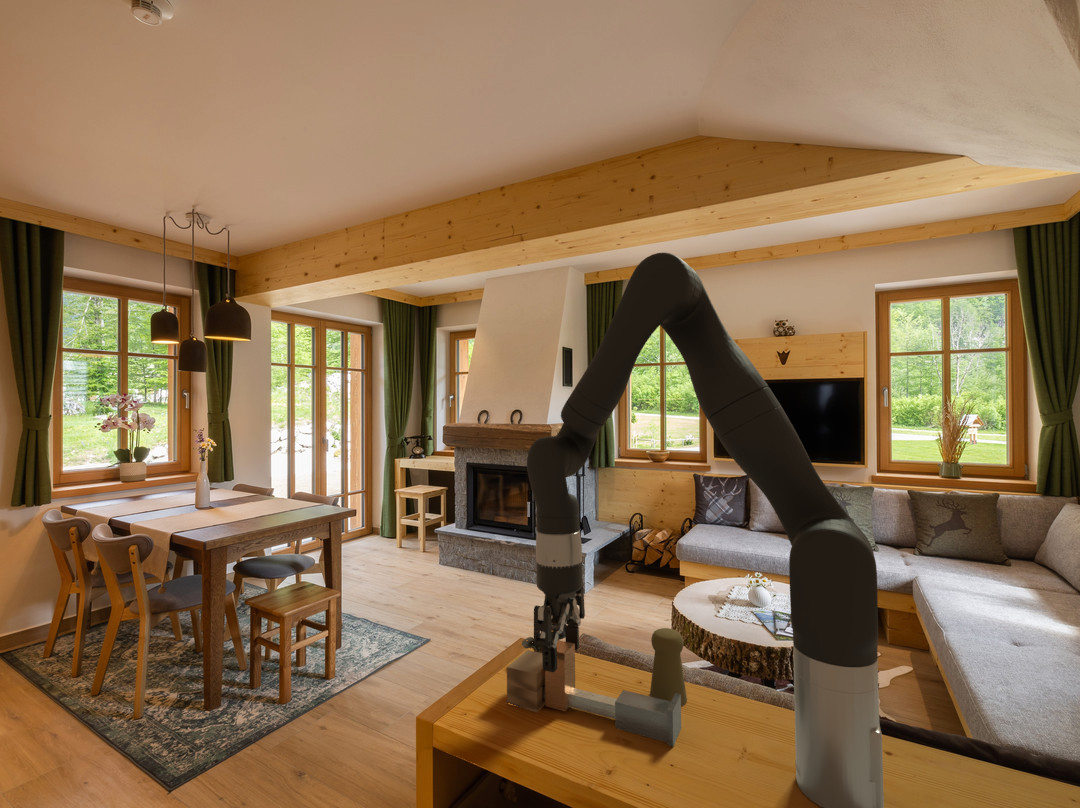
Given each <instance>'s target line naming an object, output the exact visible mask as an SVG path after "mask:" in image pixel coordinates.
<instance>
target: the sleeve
mask: <svg viewBox="0 0 1080 808" xmlns="http://www.w3.org/2000/svg"><path fill="white" fill-rule="evenodd" d="M618 695H619V696H618V697H617V698H616V699H617V700H616V701H615V719H614V721H615V723H614V724H615V727H614V728H615V729H617V730H621V731H624V732H627V733H632V734H635V735H638V736H639V735H640V736H642V737H645V738H649V739H654V740H656V741H659V742H664V743H667V746H669V747H673V748H674V747H675V744H676V741H677V739H678V737H679V734H680V732H681V730H682V707H681V694H677V693H675V695H674V697H673V699H672V701H667V700H662V699H658V698H654V697H650V695H646V694H642V693H637V692H632V691H629V690H624V689H623V690H622V691H621V693H620V694H618Z"/></svg>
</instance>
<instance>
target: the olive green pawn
mask: <svg viewBox="0 0 1080 808" xmlns="http://www.w3.org/2000/svg"><path fill="white" fill-rule="evenodd" d="M650 641H651V645H652V648H653V650H654V656H653V665H652V673H651V681H650V682H651V683H650V691H649V696H650V697H654V698H658V699H662V700H667V701H672V699H673V697H674V695H675V693H677V694H681V708H682V707H684V706H685V705H686V704H687V703H688V696H687V689H686V682H685V677H684V670H683V669H684V668H683V663H682V662H683V661H682V657H681V653H682V651H683V649H684V638H683V636H682V635H681V633H680V632H679V631H678V630H675V629H673V628H666V627H664V628H658V629H656V630H654V632H653V633H652V635H651V640H650Z"/></svg>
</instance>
